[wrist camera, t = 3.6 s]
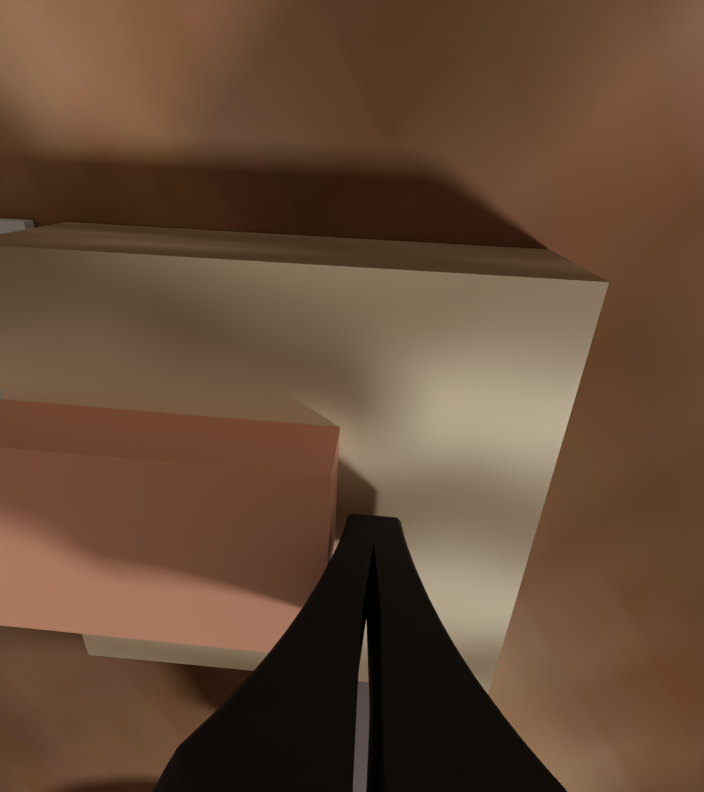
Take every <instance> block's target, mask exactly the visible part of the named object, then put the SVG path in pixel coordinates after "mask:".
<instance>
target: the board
mask: <svg viewBox="0 0 704 792" xmlns="http://www.w3.org/2000/svg"><path fill="white" fill-rule="evenodd" d="M608 284H609V282H608V281H606V280H604V279H602V278H600V277H599V276H597V275H595V274H593V273H591V272H590V271H588V270H586V269H584V268H582V267H580V266H579V265H577V264H575V263H573V262H571V261H569V260H568V259H566V258H564V257H562V256H560V255H558V254H557V253H555V252H553V251H551V250H549V249H534V248H517V247H499V246H481V245H464V244H446V243H429V242H411V241H393V240H376V239H358V238H341V237H323V236H305V235H288V234H270V233H253V232H235V231H217V230H200V229H182V228H165V227H147V226H129V225H112V224H94V223H77V222H63V223H57V224H52V225H47V226H41V227H36V228H31V229H25V230H20V231H15V232H9V233H4V234H0V389H1V392H2V395H3V398H4V400H14V401H26V402H38V403H50V404H63V405H75V406H87V407H99V408H111V409H124V410H136V411H148V412H160V413H172V414H184V415H197V416H209V417H221V418H233V419H245V420H257V421H270V422H282V423H294V424H306V425H318V426H330V427H340V441H339V461H338V482H337V503H336V523H335V544H334V552H335V549H336V547H337V545H338V543H339V541H340V538H341V536H342V533H343V530H344V527H345V524H346V520H347V516H349V515H350V514H363V515H375V516H386V517H397V518H398V519H399V520H400V521H401V525H402V529H403V533H404V537H405V540H406V543H407V546H408V549H409V552H410V555H411V557H412V560H413V562H414V565H415V567H416V570H417V572H418V574H419V577H420V579H421V581H422V584H423V586H424V588H425V590H426V592H427V594H428V597H429V599H430V601H431V603H432V605H433V607H434V609H435V610H436V612H437V614H438V616H439V618H440V620H441V622H442V624H443V626H444V627H445V629H446V631H447V633H448V634H449V636H450V638H451V639H452V641H453V643H454V644H455V646H456V648H457V649H458V651H459V653H460V654H461V656H462V657H463V659H464V661H465V662H466V664H467V665H468V667H469V668H470V670H471V671H472V673H473V674H474V676H475V677H476V679H477V680H478V681H479V683H480V684H481V686H482V687H483V688H484V690H485V691H486V692H487V694H488V693H489V690H490V686H491V683H492V679H493V676H494V673H495V669H496V666H497V662H498V659H499V656H500V652H501V649H502V645H503V642H504V639H505V635H506V632H507V628H508V625H509V621H510V618H511V615H512V611H513V608H514V604H515V601H516V598H517V594H518V591H519V587H520V584H521V581H522V577H523V574H524V570H525V567H526V563H527V560H528V557H529V553H530V550H531V546H532V543H533V540H534V536H535V533H536V529H537V526H538V523H539V519H540V516H541V512H542V509H543V506H544V502H545V499H546V495H547V492H548V488H549V485H550V482H551V478H552V475H553V471H554V468H555V465H556V461H557V458H558V454H559V451H560V448H561V444H562V441H563V437H564V434H565V430H566V427H567V424H568V420H569V417H570V413H571V410H572V407H573V403H574V400H575V396H576V393H577V390H578V386H579V383H580V379H581V376H582V373H583V369H584V366H585V362H586V359H587V355H588V352H589V349H590V345H591V342H592V338H593V335H594V332H595V328H596V325H597V321H598V318H599V315H600V311H601V308H602V304H603V301H604V297H605V294H606V291H607V287H608ZM82 636H83V639H84V642H85V645H86V648H87V651H88V654H89V655H97V656H107V657H117V658H127V659H137V660H148V661H158V662H168V663H178V664H188V665H198V666H209V667H219V668H229V669H239V670H249V671H254V670H255V669H256V668H257V666H258V665H259V664H260V663H261V662H262V661H263V659H264V658H265V657H266V656H267V655H268V653H267V652H257V651H247V650H238V649H228V648H218V647H208V646H198V645H188V644H178V643H169V642H159V641H149V640H139V639H129V638H119V637H110V636H100V635H90V634H82ZM358 681H362V682H369V679H368V652H367V624H366V625H365V632H364V638H363V645H362V652H361V659H360V666H359V673H358Z"/></svg>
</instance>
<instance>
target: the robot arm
mask: <svg viewBox="0 0 704 792" xmlns="http://www.w3.org/2000/svg"><path fill="white" fill-rule="evenodd" d="M366 624H367V652H368V679H369V682H362V681H358V673H359V666H360V659H361V652H362V645H363V638H364V632H365V625H366ZM153 792H567V791H566V790H565V788H564V787H563V786H562V785H561V784H560V783H559V782H558V781H557V779H556V778H555V777H554V776H553V775H552V774H551V773H550V771H549V770H548V769H547V768H546V767H545V766H544V765H543V764H542V762H541V761H540V760H539V759H538V758H537V756H536V755H535V754H534V753H533V752H532V751H531V749H530V748H529V747H528V746H527V745H526V744H525V742H524V741H523V740H522V738H521V737H520V736H519V735H518V733H517V732H516V731H515V730H514V728H513V727H512V726H511V725H510V723H509V722H508V721H507V720H506V718H505V717H504V716H503V715H502V713H501V712H500V710H499V709H498V708H497V706H496V705H495V703H494V702H493V701H492V699H491V698H490V697H489V695H488V694H487V692H486V691H485V690H484V688H483V687H482V686H481V684H480V683H479V681H478V680H477V679H476V677H475V676H474V674H473V673H472V671H471V670H470V668H469V667H468V665H467V664H466V662H465V661H464V659H463V657H462V656H461V654H460V653H459V651H458V649H457V648H456V646H455V644H454V643H453V641H452V639H451V638H450V636H449V634H448V633H447V631H446V629H445V627H444V626H443V624H442V622H441V620H440V618H439V616H438V614H437V612H436V610H435V609H434V607H433V605H432V603H431V601H430V599H429V597H428V594H427V592H426V590H425V588H424V586H423V584H422V581H421V579H420V577H419V574H418V572H417V570H416V567H415V565H414V562H413V560H412V557H411V555H410V552H409V549H408V546H407V543H406V540H405V537H404V533H403V529H402V525H401V521H400V520H399V519H398V518H397V517H386V516H375V515H363V514H350V515H349V516H347V520H346V524H345V527H344V530H343V533H342V536H341V538H340V541H339V543H338V545H337V547H336V549H335V552H334V554H333V556H332V558H331V560H330V561H329V563H328V565H327V567H326V569H325V571H324V573H323V575H322V577H321V578H320V580H319V582H318V583H317V585H316V587H315V588H314V590H313V592H312V593H311V595H310V597H309V598H308V600H307V601H306V603H305V604H304V606H303V607H302V609H301V610H300V612H299V613H298V615H297V616H296V618H295V619H294V621H293V622H292V623H291V625H290V626H289V627H288V629H287V630H286V632H285V633H284V634H283V636H282V637H281V638H280V639H279V641H278V642H277V643H276V644H275V646H274V647H273V648H272V649H271V651H270V652H269V653H268V655H267V656H266V657H265V658H264V659H263V661H262V662H261V663H260V664H259V665H258V666H257V668H256V669H255V670H254V671H253V672H252V673H251V674H250V675H249V676H248V678H247V679H246V680H245V681H244V682H243V683H242V684H241V685H240V686H239V687H238V688H237V689H236V690H235V692H234V693H233V694H232V695H231V696H230V697H229V698H228V699H227V700H226V701H225V702H224V703H223V704H222V705H221V706H220V707H219V708H218V709H217V710H216V711H215V712H214V713H213V714H212V715H211V716H210V717H209V718H208V719H207V720H206V721H205V722H204V723H203V724H202V725H200V726H199V727H198V728H197V729H196V730H195V731H194V732H193V733H192V734H191V735H190V736H189V737H188V738H187V739H186V740H185V741H184V742H182V743H181V744H180V745H179V746H178V748H177V749H176V751H175V753H174V754H173V756H172V758H171V759H170V761H169V763H168V764H167V766H166V768H165V769H164V771H163V773H162V775H161V777H160V779H159V780H158V782H157V784H156V786H155V788H154V790H153Z"/></svg>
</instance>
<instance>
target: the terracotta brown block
mask: <svg viewBox="0 0 704 792" xmlns="http://www.w3.org/2000/svg"><path fill="white" fill-rule="evenodd" d="M339 441H340V427H330V426H318V425H306V424H294V423H282V422H270V421H257V420H245V419H233V418H221V417H209V416H197V415H184V414H172V413H160V412H148V411H136V410H124V409H111V408H99V407H87V406H75V405H63V404H50V403H38V402H26V401H14V400H2V399H0V625H1V626H11V627H21V628H31V629H41V630H50V631H60V632H70V633H80V634H90V635H100V636H110V637H119V638H129V639H139V640H149V641H159V642H169V643H178V644H188V645H198V646H208V647H218V648H228V649H238V650H247V651H257V652H267V653H269V652H270V651H271V649H272V648H273V647H274V646H275V644H276V643H277V642H278V641H279V639H280V638H281V637H282V636H283V634H284V633H285V632H286V630H287V629H288V627H289V626H290V625H291V623H292V622H293V621H294V619H295V618H296V616H297V615H298V613H299V612H300V610H301V609H302V607H303V606H304V604H305V603H306V601H307V600H308V598H309V597H310V595H311V593H312V592H313V590H314V588H315V587H316V585H317V583H318V582H319V580H320V578H321V577H322V575H323V573H324V571H325V569H326V567H327V565H328V563H329V561H330V560H331V558H332V556H333V554H334V544H335V523H336V503H337V482H338V461H339Z"/></svg>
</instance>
